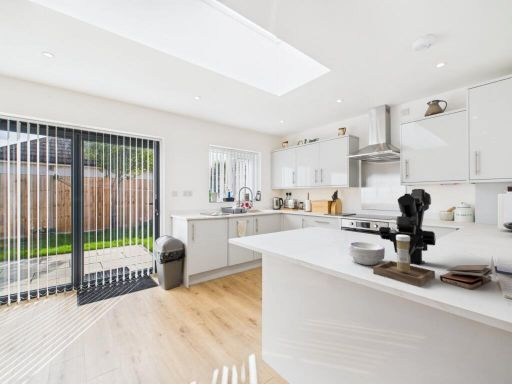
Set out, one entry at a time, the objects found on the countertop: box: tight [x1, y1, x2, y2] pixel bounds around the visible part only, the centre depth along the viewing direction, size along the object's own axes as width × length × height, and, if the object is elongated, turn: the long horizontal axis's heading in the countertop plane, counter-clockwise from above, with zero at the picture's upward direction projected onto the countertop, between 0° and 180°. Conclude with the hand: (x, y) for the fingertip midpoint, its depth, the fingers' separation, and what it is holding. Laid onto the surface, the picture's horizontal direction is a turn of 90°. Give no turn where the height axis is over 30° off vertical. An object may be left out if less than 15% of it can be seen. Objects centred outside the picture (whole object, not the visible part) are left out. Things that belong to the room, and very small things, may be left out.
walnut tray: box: [372, 260, 436, 288], centre depth 91 cm, size 14×16×3 cm
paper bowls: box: [347, 241, 386, 266], centre depth 108 cm, size 15×15×8 cm
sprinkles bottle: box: [396, 235, 411, 272], centre depth 91 cm, size 5×5×14 cm
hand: (402, 253), depth 90 cm, fingers open, 4 cm apart
